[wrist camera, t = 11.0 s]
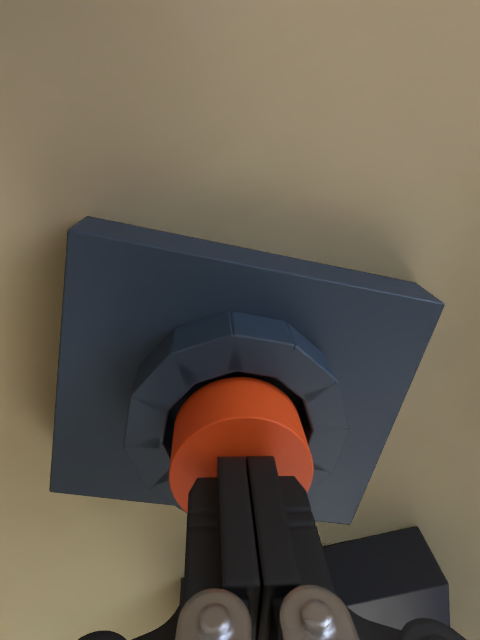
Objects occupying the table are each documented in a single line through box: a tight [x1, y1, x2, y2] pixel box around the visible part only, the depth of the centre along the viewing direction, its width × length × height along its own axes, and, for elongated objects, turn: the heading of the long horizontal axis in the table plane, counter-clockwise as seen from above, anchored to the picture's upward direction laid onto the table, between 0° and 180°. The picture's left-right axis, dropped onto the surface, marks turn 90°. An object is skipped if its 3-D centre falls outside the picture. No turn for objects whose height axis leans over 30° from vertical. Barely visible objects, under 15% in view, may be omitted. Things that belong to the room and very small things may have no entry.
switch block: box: [49, 216, 444, 525], centre depth 15 cm, size 12×10×4 cm
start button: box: [169, 377, 314, 513], centre depth 13 cm, size 4×4×2 cm
